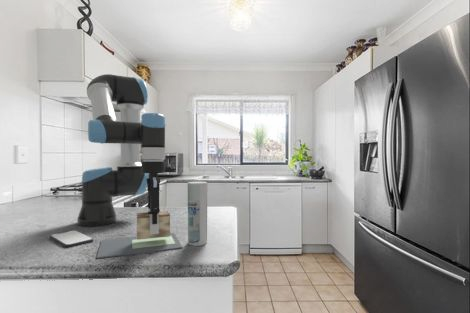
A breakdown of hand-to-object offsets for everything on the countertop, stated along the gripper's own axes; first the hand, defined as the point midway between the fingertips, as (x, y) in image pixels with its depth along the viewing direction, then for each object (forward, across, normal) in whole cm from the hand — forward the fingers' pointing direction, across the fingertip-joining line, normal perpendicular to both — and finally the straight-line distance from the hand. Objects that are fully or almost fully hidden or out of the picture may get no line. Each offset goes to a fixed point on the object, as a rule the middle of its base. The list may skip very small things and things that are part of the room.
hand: (153, 230), depth 90 cm
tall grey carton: (+4, +5, +14) cm, 15 cm away
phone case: (+5, -14, -26) cm, 30 cm away
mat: (+4, 0, -4) cm, 6 cm away
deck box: (+1, 0, 0) cm, 1 cm away
